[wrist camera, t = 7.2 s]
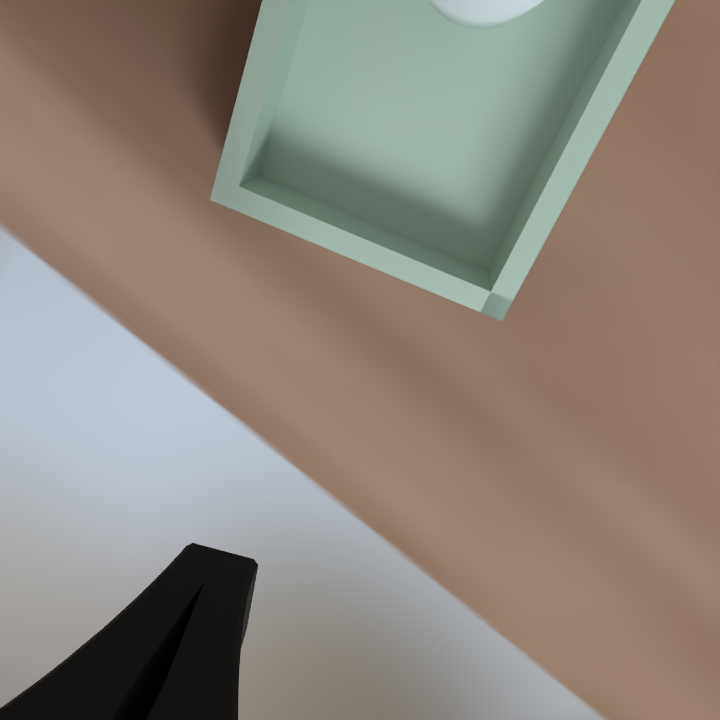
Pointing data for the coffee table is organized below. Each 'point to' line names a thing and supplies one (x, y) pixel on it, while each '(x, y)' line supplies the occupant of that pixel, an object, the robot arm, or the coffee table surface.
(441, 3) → the round-ended grey cylinder
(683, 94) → the coffee table surface
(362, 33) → the tray
